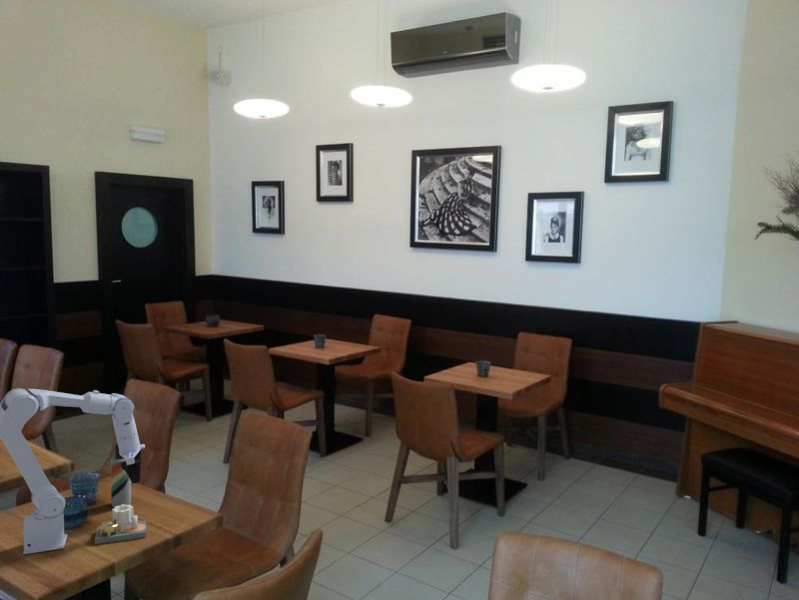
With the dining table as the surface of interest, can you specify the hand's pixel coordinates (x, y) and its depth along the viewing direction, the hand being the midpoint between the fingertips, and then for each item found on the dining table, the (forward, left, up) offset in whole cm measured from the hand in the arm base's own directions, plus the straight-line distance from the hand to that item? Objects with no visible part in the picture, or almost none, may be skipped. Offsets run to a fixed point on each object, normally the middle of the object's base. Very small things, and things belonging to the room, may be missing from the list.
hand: (136, 476), depth 179 cm
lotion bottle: (-5, +14, -14) cm, 20 cm away
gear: (-7, -9, -12) cm, 16 cm away
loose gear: (-4, +1, -13) cm, 14 cm away
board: (-4, -8, -13) cm, 16 cm away
